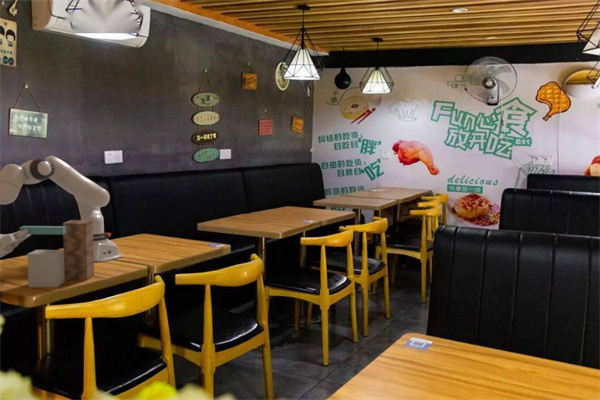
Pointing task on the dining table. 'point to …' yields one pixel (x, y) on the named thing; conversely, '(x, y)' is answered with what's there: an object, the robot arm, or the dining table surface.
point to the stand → (78, 250)
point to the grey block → (46, 268)
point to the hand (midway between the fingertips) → (30, 229)
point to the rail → (44, 229)
